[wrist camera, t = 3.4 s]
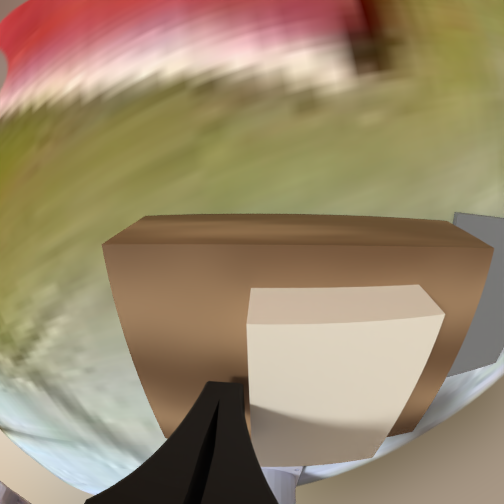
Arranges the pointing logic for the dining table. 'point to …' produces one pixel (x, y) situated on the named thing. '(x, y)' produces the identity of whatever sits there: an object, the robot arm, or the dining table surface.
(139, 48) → the dining table surface
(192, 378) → the plate
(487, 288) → the mat
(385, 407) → the cream rectangular block
